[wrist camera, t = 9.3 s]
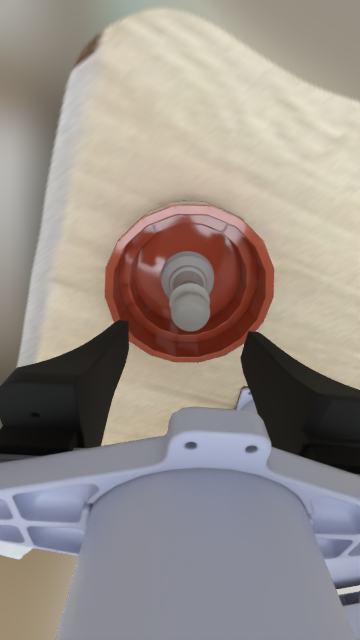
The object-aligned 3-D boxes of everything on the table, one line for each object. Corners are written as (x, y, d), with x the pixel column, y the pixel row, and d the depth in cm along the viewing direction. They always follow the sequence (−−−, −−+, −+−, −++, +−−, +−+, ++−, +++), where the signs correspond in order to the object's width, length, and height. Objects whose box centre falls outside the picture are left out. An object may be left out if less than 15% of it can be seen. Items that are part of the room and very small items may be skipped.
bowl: (253, 186, 19) (276, 185, 14) (255, 323, 24) (272, 353, 20) (101, 214, 20) (78, 222, 15) (138, 339, 25) (130, 371, 21)
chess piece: (219, 291, 22) (238, 340, 15) (171, 307, 23) (168, 360, 16) (204, 242, 20) (218, 271, 13) (152, 261, 21) (138, 299, 14)
